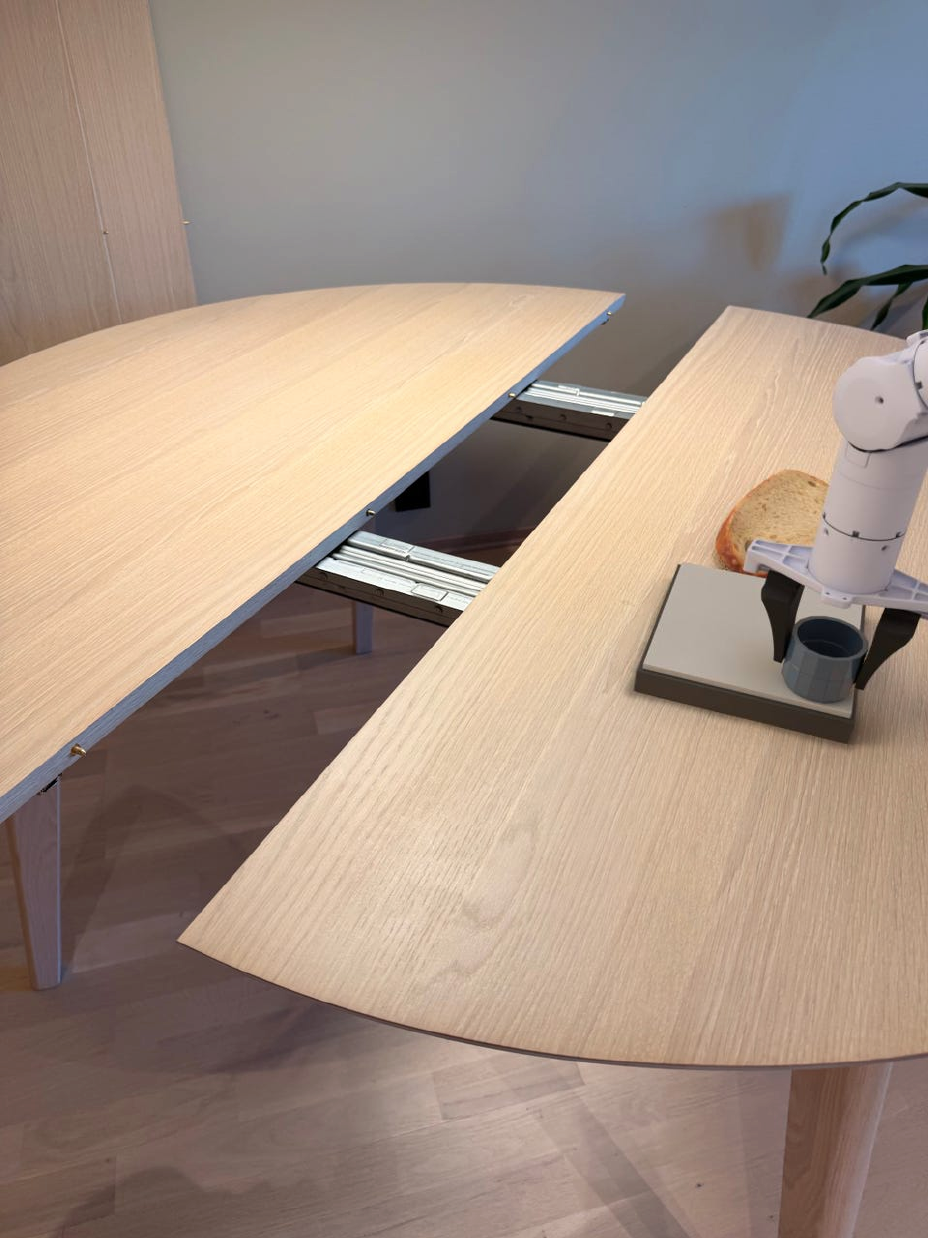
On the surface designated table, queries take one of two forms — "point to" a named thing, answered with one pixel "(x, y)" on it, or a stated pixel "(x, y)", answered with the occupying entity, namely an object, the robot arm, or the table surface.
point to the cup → (824, 658)
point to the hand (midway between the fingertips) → (820, 668)
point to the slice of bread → (772, 517)
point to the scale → (735, 653)
